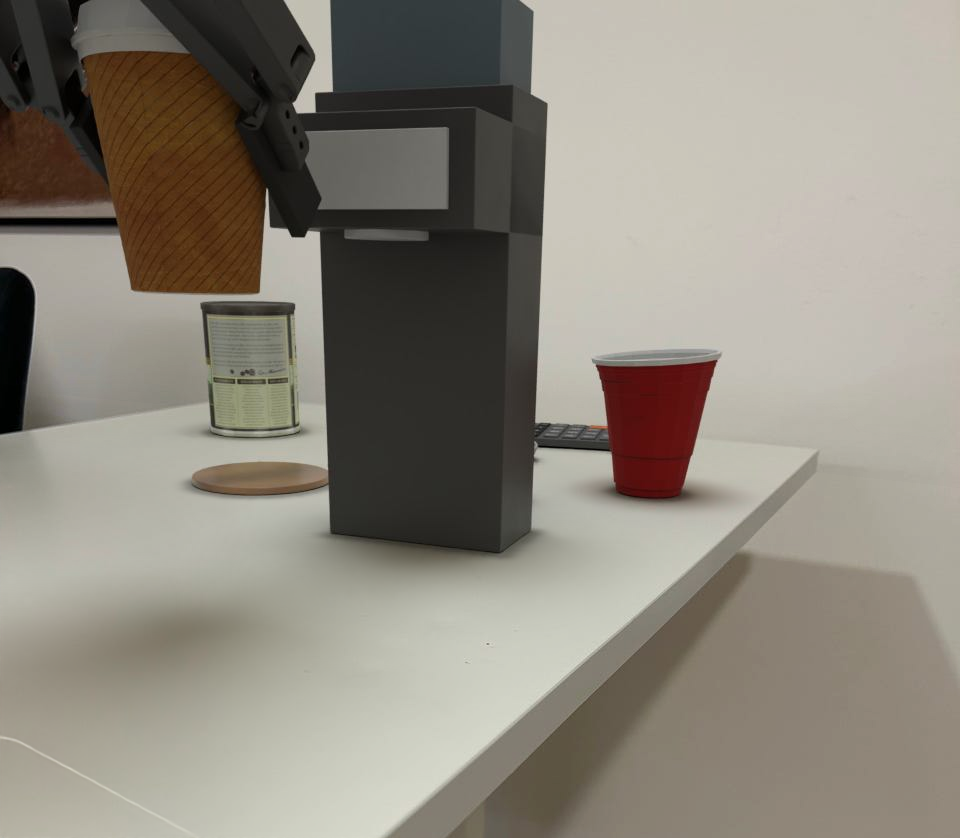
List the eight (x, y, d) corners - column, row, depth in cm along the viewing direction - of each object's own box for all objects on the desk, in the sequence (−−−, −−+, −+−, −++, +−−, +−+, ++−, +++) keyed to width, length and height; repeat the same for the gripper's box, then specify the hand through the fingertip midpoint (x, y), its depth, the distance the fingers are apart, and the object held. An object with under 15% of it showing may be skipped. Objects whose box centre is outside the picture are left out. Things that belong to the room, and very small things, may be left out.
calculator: (619, 440, 105) (482, 433, 108) (618, 449, 105) (482, 442, 108) (627, 425, 116) (503, 419, 119) (627, 433, 116) (502, 427, 119)
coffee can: (194, 428, 114) (184, 300, 109) (274, 421, 121) (267, 300, 116) (235, 440, 107) (226, 304, 102) (317, 432, 113) (312, 303, 108)
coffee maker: (465, 578, 61) (475, -53, 49) (282, 554, 65) (251, -32, 53) (531, 529, 73) (551, 11, 61) (372, 512, 77) (363, 24, 65)
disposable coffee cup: (90, 294, 44) (57, -18, 40) (102, 288, 53) (76, 31, 49) (302, 298, 47) (292, 6, 43) (282, 292, 55) (272, 48, 51)
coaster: (162, 483, 85) (161, 476, 85) (257, 463, 95) (257, 456, 95) (267, 501, 80) (267, 493, 80) (357, 477, 90) (357, 471, 89)
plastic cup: (584, 476, 92) (592, 343, 88) (701, 481, 91) (715, 346, 87) (583, 501, 82) (591, 352, 78) (714, 507, 81) (730, 356, 77)
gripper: (-373, -237, 34) (37, 266, 53) (140, -345, 27) (393, 276, 47) (-255, -350, 36) (93, 168, 56) (237, -473, 30) (436, 164, 50)
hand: (229, 217), depth 51 cm, fingers closed on disposable coffee cup, 8 cm apart
